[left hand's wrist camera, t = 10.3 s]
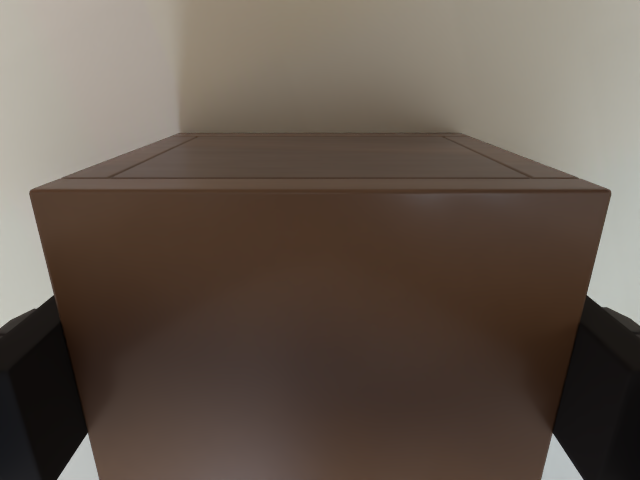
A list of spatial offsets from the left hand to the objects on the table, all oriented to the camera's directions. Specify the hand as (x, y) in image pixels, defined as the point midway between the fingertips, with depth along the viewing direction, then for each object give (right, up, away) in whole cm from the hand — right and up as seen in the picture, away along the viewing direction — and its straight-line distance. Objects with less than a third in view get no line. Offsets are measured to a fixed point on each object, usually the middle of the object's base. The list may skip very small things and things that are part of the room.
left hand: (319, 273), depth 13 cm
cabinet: (0, -5, +5) cm, 8 cm away
